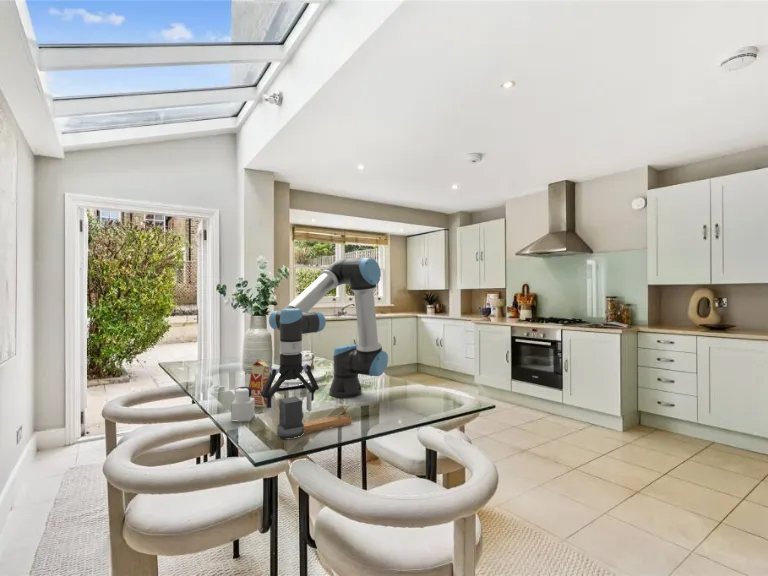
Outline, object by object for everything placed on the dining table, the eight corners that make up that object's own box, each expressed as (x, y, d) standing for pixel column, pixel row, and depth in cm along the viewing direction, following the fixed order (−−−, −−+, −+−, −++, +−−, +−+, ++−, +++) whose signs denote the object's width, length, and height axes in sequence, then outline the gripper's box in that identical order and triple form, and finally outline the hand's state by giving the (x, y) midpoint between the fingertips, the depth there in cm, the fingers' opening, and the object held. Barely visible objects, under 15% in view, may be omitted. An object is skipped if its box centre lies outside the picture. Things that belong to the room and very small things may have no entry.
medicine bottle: (236, 415, 160) (236, 385, 160) (254, 415, 161) (254, 385, 161) (230, 421, 153) (231, 390, 153) (250, 421, 154) (250, 390, 154)
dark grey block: (295, 421, 146) (295, 396, 146) (301, 426, 141) (302, 400, 141) (279, 424, 142) (279, 399, 142) (285, 429, 137) (285, 403, 137)
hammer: (343, 418, 158) (343, 398, 158) (354, 425, 150) (354, 404, 150) (273, 432, 143) (273, 409, 143) (282, 441, 135) (282, 417, 135)
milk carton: (264, 407, 171) (264, 360, 171) (244, 405, 173) (244, 359, 173) (274, 401, 180) (274, 356, 180) (255, 399, 182) (255, 355, 182)
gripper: (258, 358, 131) (257, 423, 131) (328, 351, 145) (327, 410, 145) (251, 354, 137) (251, 416, 138) (319, 348, 151) (319, 404, 151)
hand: (290, 413), depth 141 cm, fingers open, 13 cm apart
